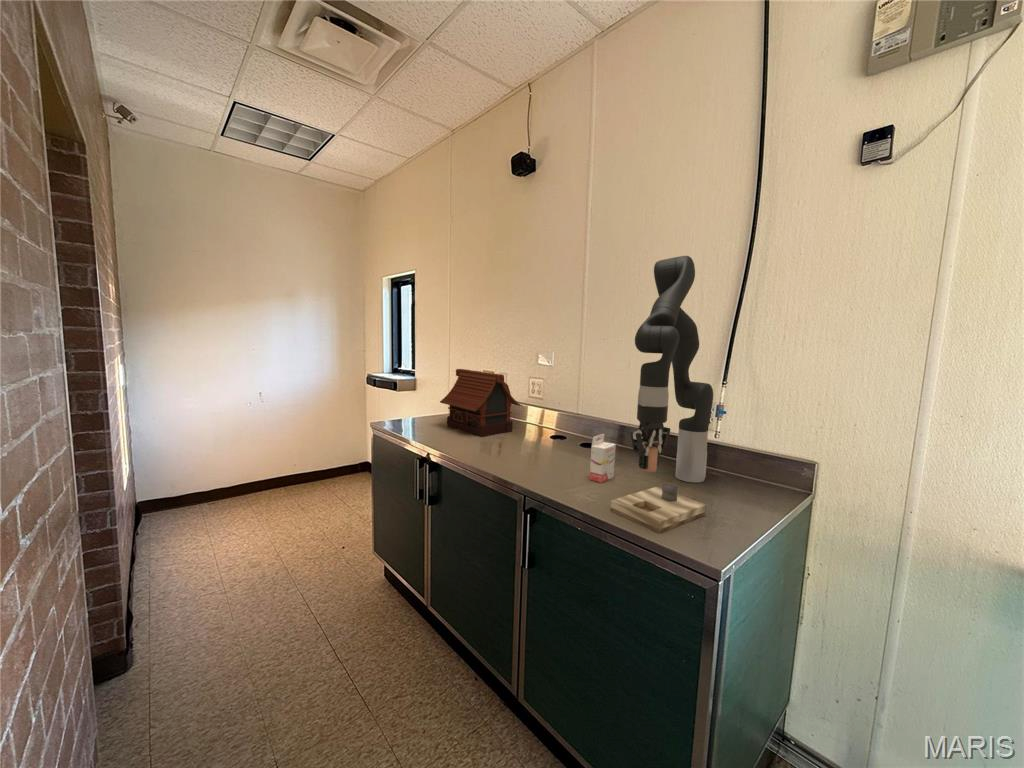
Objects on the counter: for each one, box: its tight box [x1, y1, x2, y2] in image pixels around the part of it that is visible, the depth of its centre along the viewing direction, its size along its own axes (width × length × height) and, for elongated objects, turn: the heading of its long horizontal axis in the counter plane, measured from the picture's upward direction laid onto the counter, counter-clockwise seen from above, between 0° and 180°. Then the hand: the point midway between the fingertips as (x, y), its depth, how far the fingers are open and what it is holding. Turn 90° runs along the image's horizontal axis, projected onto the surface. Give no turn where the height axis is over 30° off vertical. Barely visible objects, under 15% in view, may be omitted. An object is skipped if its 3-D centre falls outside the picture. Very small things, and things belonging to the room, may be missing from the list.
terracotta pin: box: [640, 446, 658, 473], centre depth 114 cm, size 4×4×6 cm
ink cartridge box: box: [589, 433, 617, 484], centre depth 145 cm, size 9×5×15 cm, turn 141°
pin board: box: [610, 482, 707, 534], centre depth 118 cm, size 20×16×7 cm
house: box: [439, 368, 521, 438], centre depth 215 cm, size 35×28×29 cm
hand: (648, 466), depth 114 cm, fingers closed on terracotta pin, 4 cm apart
